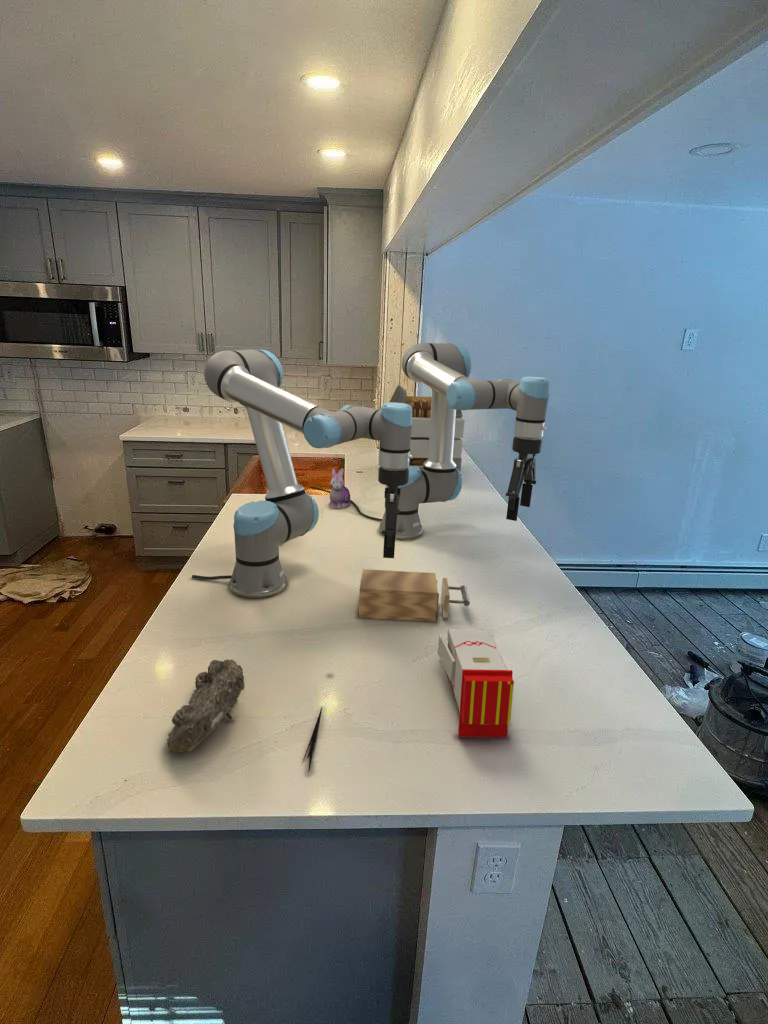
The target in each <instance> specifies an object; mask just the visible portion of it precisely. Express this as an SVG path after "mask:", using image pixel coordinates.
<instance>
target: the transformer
mask: <svg viewBox="0 0 768 1024" xmlns="http://www.w3.org/2000/svg"><path fill="white" fill-rule="evenodd" d="M407 394H408V393H407V390H406V389H404V388H403V387H402V385H399V384H398V385H397V386H396V388H395V390H394V392H393V394H392V395H391V398H390V400H389V402H396V403H405V404H408V405H410V406H411V407H412V422H413V425H412V431H411V443H410V454H409V455H412V459H409V466H417V467H423V463H424V462H425V461H426V460H427V459H428V450H429V434H430V417H431V400H432V396H415V395H414V396H413V395H412V396H411V395H407ZM389 402H388V403H389ZM464 429H465V419H464V418H463V411H462V410H456V420H455V434H454V447H453V462H454V463H455V464H456V468H457V469H458V470H459V471H460V473H461V472H462V461H463V460H462V453H463V442H464V441H463V440H462V439H463V438H464V431H465V430H464ZM461 474H462V473H461Z"/></svg>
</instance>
